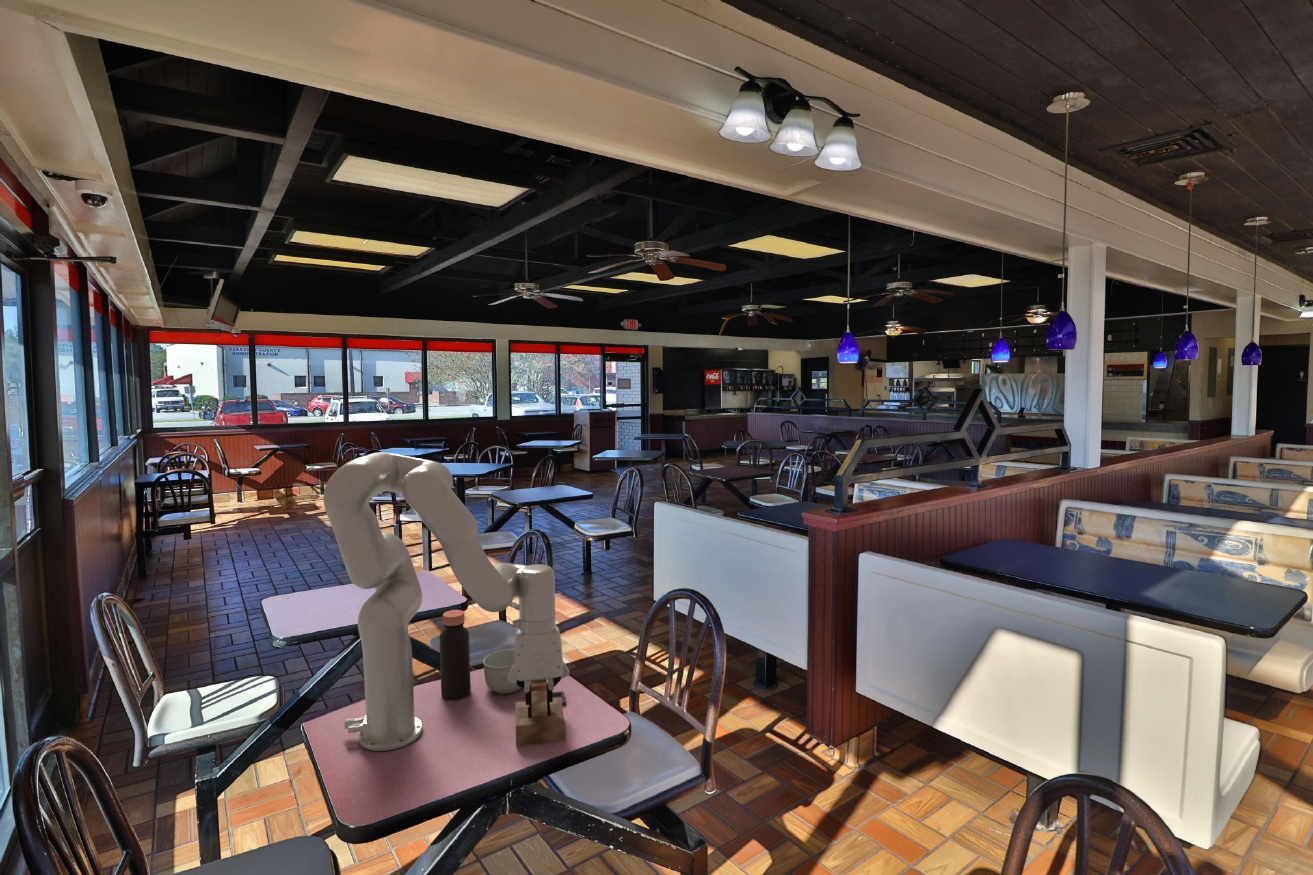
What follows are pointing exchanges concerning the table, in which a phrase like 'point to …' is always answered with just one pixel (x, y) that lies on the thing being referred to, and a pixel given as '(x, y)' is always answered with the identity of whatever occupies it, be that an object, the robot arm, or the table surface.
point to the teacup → (499, 671)
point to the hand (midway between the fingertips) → (539, 705)
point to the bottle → (454, 656)
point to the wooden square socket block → (539, 724)
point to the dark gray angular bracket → (561, 696)
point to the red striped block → (539, 698)
